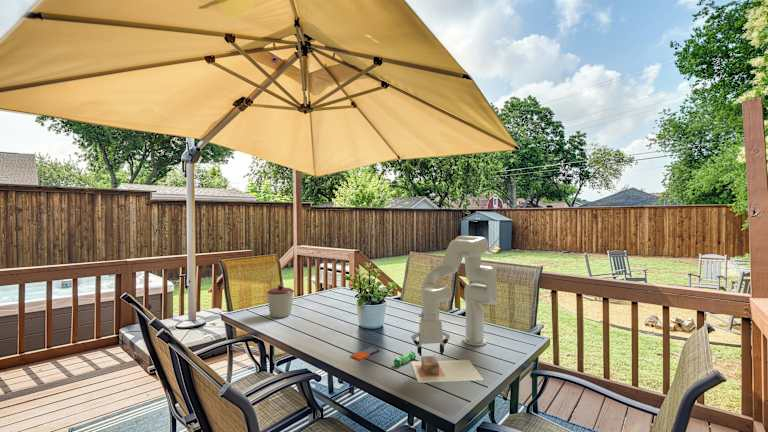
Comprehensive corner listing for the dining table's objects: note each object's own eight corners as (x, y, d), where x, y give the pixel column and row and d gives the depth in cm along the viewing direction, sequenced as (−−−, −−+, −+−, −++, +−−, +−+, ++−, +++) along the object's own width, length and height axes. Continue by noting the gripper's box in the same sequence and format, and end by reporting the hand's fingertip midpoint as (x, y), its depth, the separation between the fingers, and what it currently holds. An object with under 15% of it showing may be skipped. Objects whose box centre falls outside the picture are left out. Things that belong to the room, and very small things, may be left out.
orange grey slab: (349, 355, 170) (370, 346, 181) (349, 358, 170) (370, 348, 181) (359, 359, 166) (380, 349, 177) (359, 362, 166) (380, 352, 177)
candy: (408, 355, 170) (412, 349, 169) (413, 360, 169) (417, 355, 167) (392, 363, 162) (396, 357, 160) (397, 369, 160) (400, 363, 158)
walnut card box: (425, 375, 150) (425, 365, 150) (421, 366, 159) (421, 356, 159) (439, 375, 151) (439, 364, 150) (434, 365, 160) (434, 356, 159)
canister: (273, 311, 246) (273, 281, 245) (298, 312, 243) (298, 282, 243) (261, 319, 228) (261, 287, 227) (287, 320, 225) (287, 288, 225)
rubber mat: (410, 362, 164) (410, 361, 164) (468, 360, 167) (468, 359, 167) (418, 383, 144) (418, 382, 144) (484, 380, 147) (484, 379, 147)
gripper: (412, 319, 150) (412, 359, 151) (451, 318, 152) (452, 357, 152) (409, 314, 158) (410, 351, 158) (447, 312, 159) (447, 349, 160)
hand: (430, 354), depth 155 cm, fingers open, 9 cm apart
